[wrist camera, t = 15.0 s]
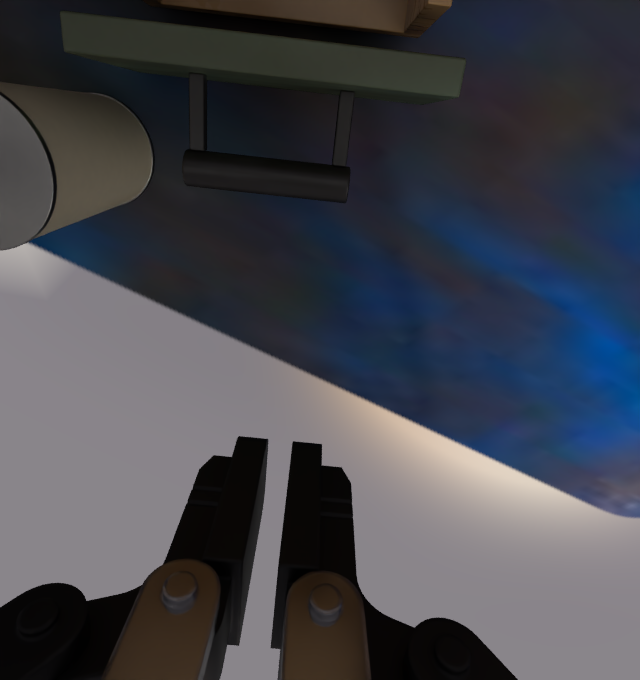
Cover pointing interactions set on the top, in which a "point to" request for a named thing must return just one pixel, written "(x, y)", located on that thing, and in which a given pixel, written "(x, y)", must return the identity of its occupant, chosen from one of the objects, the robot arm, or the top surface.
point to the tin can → (66, 159)
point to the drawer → (275, 74)
